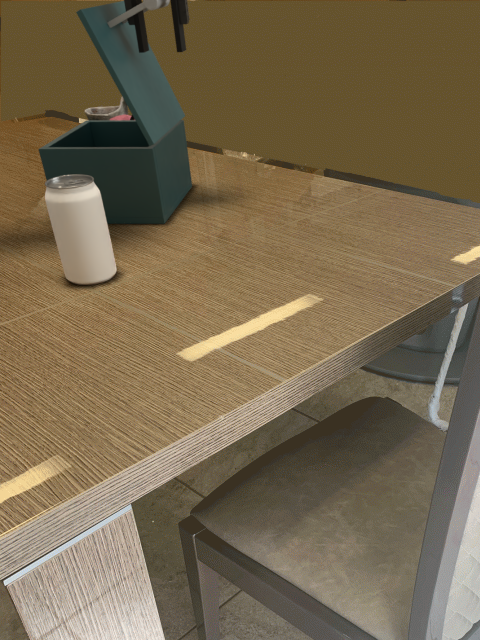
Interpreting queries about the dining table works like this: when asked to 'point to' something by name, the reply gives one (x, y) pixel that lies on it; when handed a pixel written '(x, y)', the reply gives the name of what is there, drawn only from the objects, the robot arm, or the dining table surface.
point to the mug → (107, 111)
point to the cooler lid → (133, 66)
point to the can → (80, 229)
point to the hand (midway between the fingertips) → (162, 50)
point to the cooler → (124, 168)
